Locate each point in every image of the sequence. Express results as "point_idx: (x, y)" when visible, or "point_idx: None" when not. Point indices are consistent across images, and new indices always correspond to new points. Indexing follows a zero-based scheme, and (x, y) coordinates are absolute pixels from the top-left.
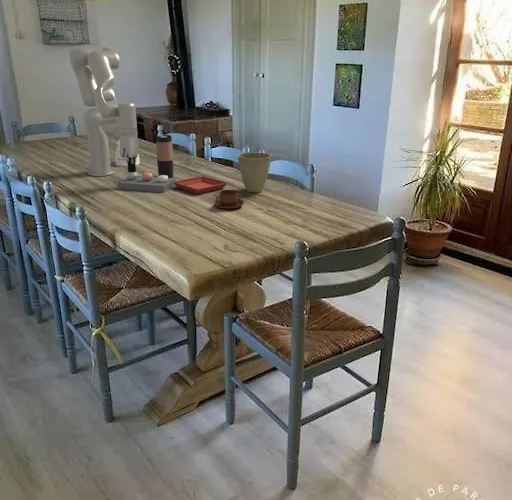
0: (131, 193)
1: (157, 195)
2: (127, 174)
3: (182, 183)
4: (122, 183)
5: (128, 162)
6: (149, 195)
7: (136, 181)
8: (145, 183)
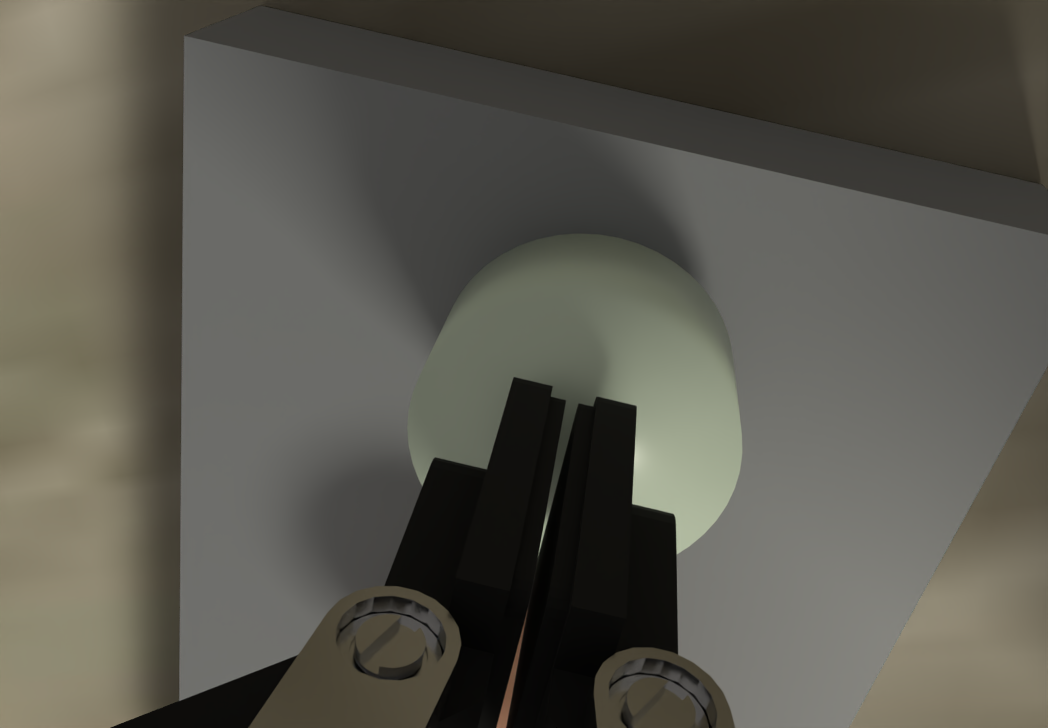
0: (20, 352)
1: (52, 713)
2: (459, 317)
3: None
4: (191, 156)
5: (259, 705)
6: (13, 624)
7: (386, 465)
8: (255, 641)
